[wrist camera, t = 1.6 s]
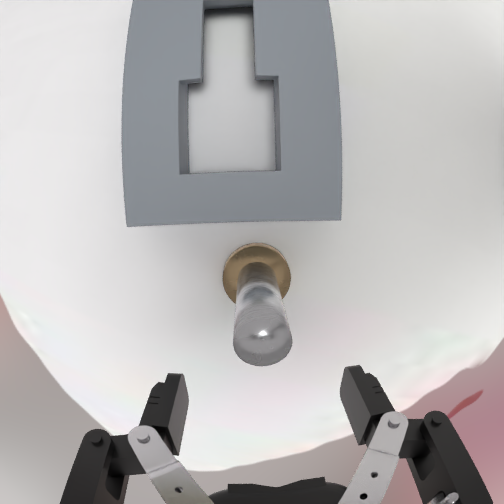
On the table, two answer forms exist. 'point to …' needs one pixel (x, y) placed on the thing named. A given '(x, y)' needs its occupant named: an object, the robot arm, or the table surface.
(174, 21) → the keyhole plate
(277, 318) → the steel peg
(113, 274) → the table surface
